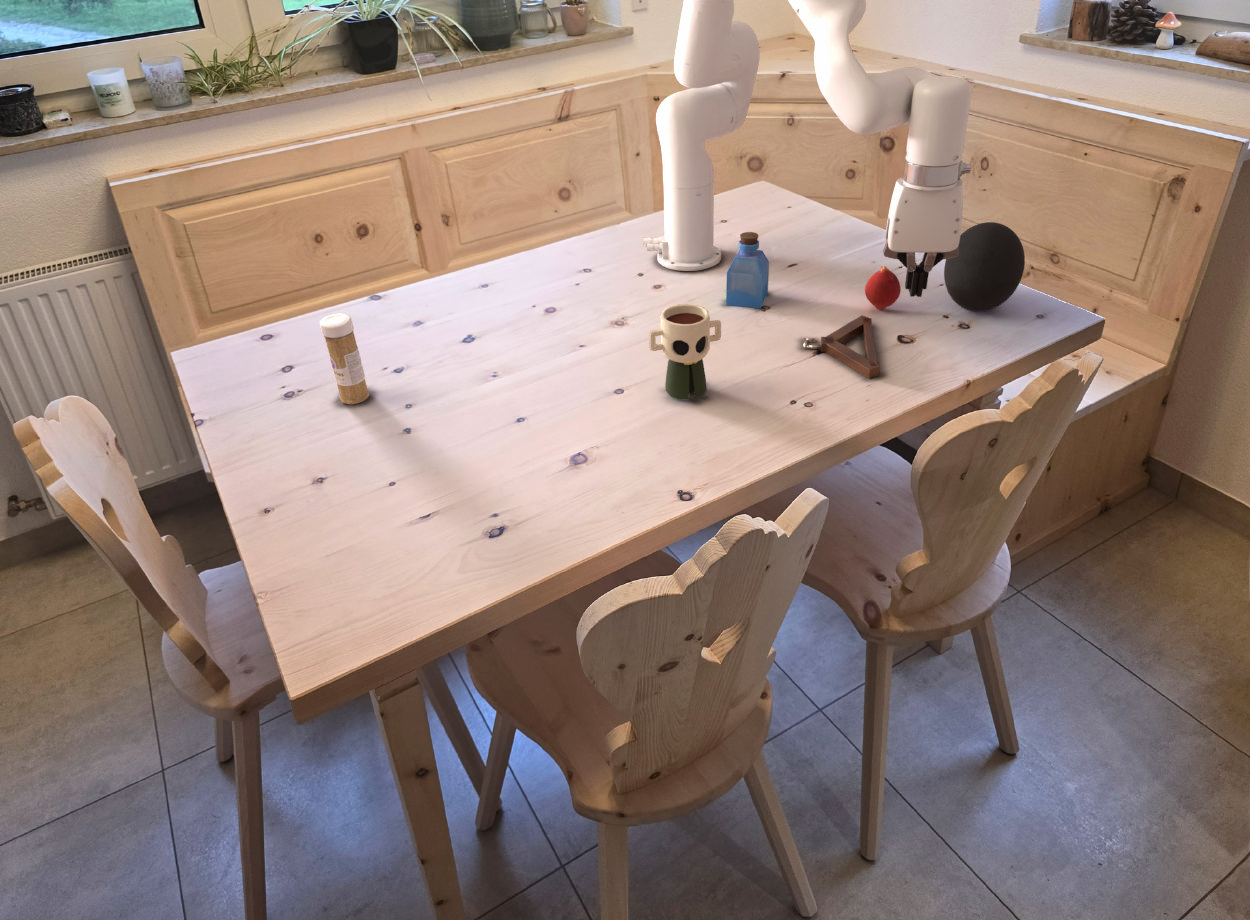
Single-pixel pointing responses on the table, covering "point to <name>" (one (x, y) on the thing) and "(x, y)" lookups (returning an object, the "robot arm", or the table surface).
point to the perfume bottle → (748, 274)
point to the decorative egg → (985, 267)
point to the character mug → (685, 347)
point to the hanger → (846, 355)
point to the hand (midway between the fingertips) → (914, 292)
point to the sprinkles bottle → (345, 358)
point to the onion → (882, 288)
